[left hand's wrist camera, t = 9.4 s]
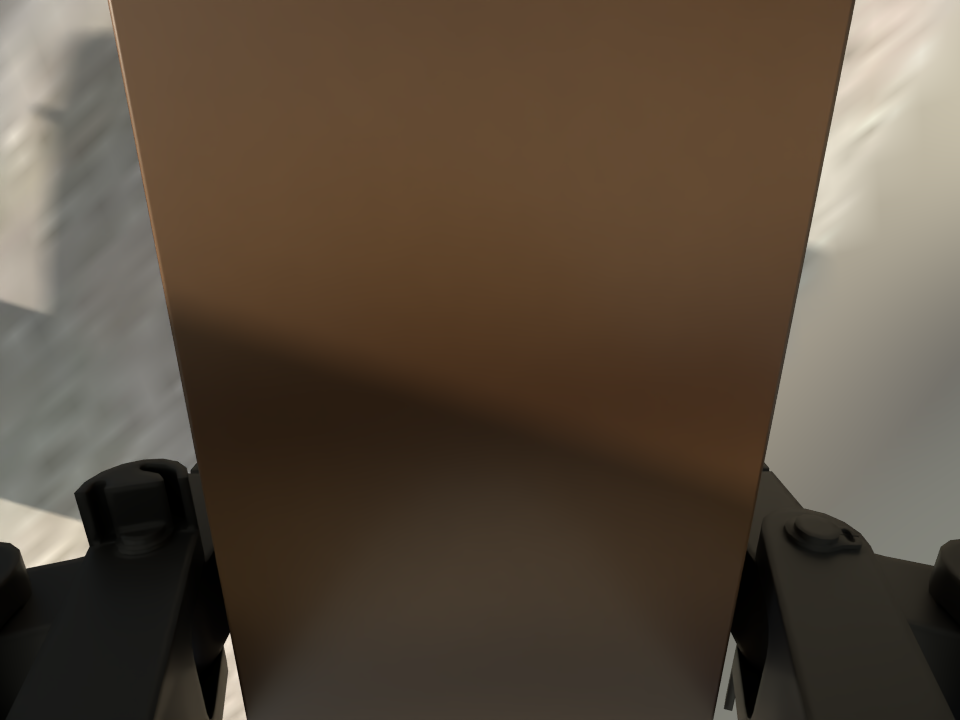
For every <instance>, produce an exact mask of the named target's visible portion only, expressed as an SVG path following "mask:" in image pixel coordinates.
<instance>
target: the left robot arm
mask: <svg viewBox="0 0 960 720" xmlns="http://www.w3.org/2000/svg"><path fill="white" fill-rule="evenodd" d="M74 494H75V498H76V501H77V505H78V508H79V511H80V515H81V518H82V522H83V525H84V528H85V532H86V535H87V539H88V542H89V546H90V547H89V549H88V551H87V553H86V555H85V556H84V557H80V558H77V559H72V560H67V561H62V562H57V563H52V564H47V565H42V566H37V567H32V568H27V569H26V567H25V564H24V561H23V558H22V556H21V553H20V550H19V549H18V548H16V547H15V546H13V545H12V544H11V543H4V542H0V720H222V718H223V710H224V701H225V693H226V684H227V676H228V667H227V660H226V655H225V650H224V643H225V641H226V639H227V637H228V635H229V633H230V629H229V624H228V619H227V614H226V609H225V604H224V598H223V593H222V588H221V583H220V578H219V573H218V567H217V562H216V557H215V552H214V547H213V542H212V536H211V531H210V526H209V521H208V516H207V511H206V505H205V500H204V495H203V490H202V485H201V480H200V474H199V469H198V464H197V463H196V465H195V466H194V467H193V468H192V469H191V473H190V474H188V472H187V468H186V467H185V466H183V465H182V464H180V463H179V462H177V461H172V460H167V459H146V460H140V461H135V462H130V463H125V464H122V465H119V466H116V467H114V468H111V469H108V470H106V471H103V472H101V473H99V474H98V475H96V476H94V477H93V478H91V479H89V480H87V481H86V482H84V484H83V485H82V486H81V487H80V488H79V489H78V490H77V491H76V492H75V493H74ZM731 633H732V635H733V637H734V639H735V641H736V643H737V645H736V650H735V655H734V660H733V665H732V669H731V674H730V679H729V684H728V689H727V693H726V699H725V705H724V709H727V710H731V711H732V709H733V704H734V700H736V708H737V716H738V720H960V539H958V540H950V541H949V542H947V543H946V544H944V545H943V546H941V548H940V551H939V554H938V557H937V559H936V562H935V565H934V566H931V565H926V564H921V563H916V562H911V561H906V560H901V559H896V558H891V557H886V556H882V555H878V554H874V552H873V550H872V548H871V546H870V545H869V543H868V542H867V541H866V540H865V538H864V537H863V536H862V535H861V533H859V532H858V531H856V530H855V529H853V528H852V527H851V526H849V525H848V524H846V523H845V522H843V521H841V520H838V519H836V518H834V517H831V516H829V515H827V514H824V513H820V512H816V511H812V510H808V509H804V508H803V507H802V506H801V505H800V504H799V503H798V501H797V500H796V499H795V498H794V497H793V496H792V494H791V493H790V492H789V491H788V490H787V489H786V487H785V486H784V485H783V484H782V483H781V481H780V480H779V479H778V478H777V477H776V476H775V475H774V473H773V472H772V471H769V467H768V466H767V465H766V464H765V463H764V465H763V470H762V475H761V480H760V485H759V490H758V495H757V500H756V505H755V510H754V515H753V520H752V525H751V530H750V536H749V541H748V546H747V551H746V556H745V561H744V566H743V571H742V576H741V581H740V586H739V591H738V596H737V601H736V606H735V611H734V616H733V621H732V627H731Z"/></svg>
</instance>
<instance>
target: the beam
mask: <svg viewBox="0 0 960 720" xmlns="http://www.w3.org/2000/svg"><path fill="white" fill-rule="evenodd" d="M108 4H109V10H110V15H111V20H112V25H113V30H114V35H115V41H116V46H117V51H118V56H119V61H120V66H121V72H122V77H123V82H124V87H125V92H126V97H127V103H128V108H129V113H130V118H131V123H132V128H133V134H134V139H135V144H136V149H137V154H138V159H139V165H140V170H141V175H142V180H143V185H144V190H145V196H146V201H147V206H148V211H149V216H150V221H151V227H152V232H153V237H154V242H155V247H156V252H157V258H158V263H159V268H160V273H161V278H162V283H163V289H164V294H165V299H166V304H167V309H168V314H169V320H170V325H171V330H172V335H173V340H174V345H175V351H176V356H177V361H178V366H179V371H180V376H181V381H182V387H183V392H184V397H185V402H186V407H187V412H188V418H189V423H190V428H191V433H192V438H193V443H194V449H195V454H196V459H197V464H198V469H199V474H200V480H201V485H202V490H203V495H204V500H205V505H206V511H207V516H208V521H209V526H210V531H211V536H212V542H213V547H214V552H215V557H216V562H217V567H218V573H219V578H220V583H221V588H222V593H223V598H224V604H225V609H226V614H227V619H228V624H229V629H230V635H231V640H232V645H233V650H234V655H235V660H236V666H237V671H238V676H239V681H240V686H241V691H242V697H243V702H244V707H245V712H246V717H247V720H713V718H714V712H715V707H716V702H717V697H718V692H719V687H720V682H721V677H722V672H723V667H724V662H725V657H726V652H727V646H728V642H729V637H730V632H731V627H732V621H733V616H734V611H735V606H736V601H737V596H738V591H739V586H740V581H741V576H742V571H743V566H744V561H745V556H746V551H747V546H748V541H749V536H750V530H751V525H752V520H753V515H754V510H755V505H756V500H757V495H758V490H759V485H760V480H761V475H762V470H763V465H764V460H765V454H766V450H767V445H768V439H769V434H770V429H771V424H772V419H773V414H774V409H775V404H776V399H777V394H778V389H779V384H780V379H781V374H782V369H783V364H784V359H785V354H786V348H787V343H788V338H789V333H790V328H791V323H792V318H793V313H794V308H795V303H796V298H797V293H798V288H799V283H800V278H801V273H802V268H803V263H804V257H805V252H806V247H807V242H808V237H809V232H810V227H811V222H812V217H813V212H814V207H815V202H816V197H817V192H818V187H819V182H820V177H821V172H822V166H823V161H824V156H825V151H826V146H827V141H828V136H829V131H830V126H831V121H832V116H833V111H834V106H835V101H836V96H837V91H838V86H839V81H840V75H841V70H842V65H843V60H844V55H845V50H846V45H847V40H848V35H849V30H850V25H851V20H852V15H853V10H854V5H855V0H108Z"/></svg>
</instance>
